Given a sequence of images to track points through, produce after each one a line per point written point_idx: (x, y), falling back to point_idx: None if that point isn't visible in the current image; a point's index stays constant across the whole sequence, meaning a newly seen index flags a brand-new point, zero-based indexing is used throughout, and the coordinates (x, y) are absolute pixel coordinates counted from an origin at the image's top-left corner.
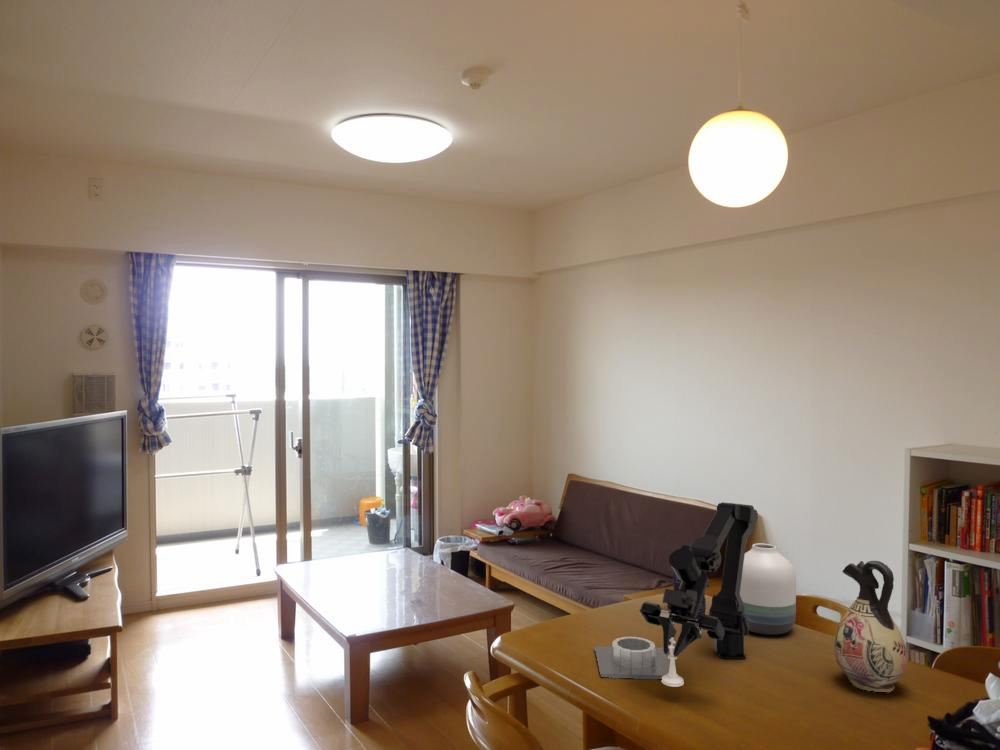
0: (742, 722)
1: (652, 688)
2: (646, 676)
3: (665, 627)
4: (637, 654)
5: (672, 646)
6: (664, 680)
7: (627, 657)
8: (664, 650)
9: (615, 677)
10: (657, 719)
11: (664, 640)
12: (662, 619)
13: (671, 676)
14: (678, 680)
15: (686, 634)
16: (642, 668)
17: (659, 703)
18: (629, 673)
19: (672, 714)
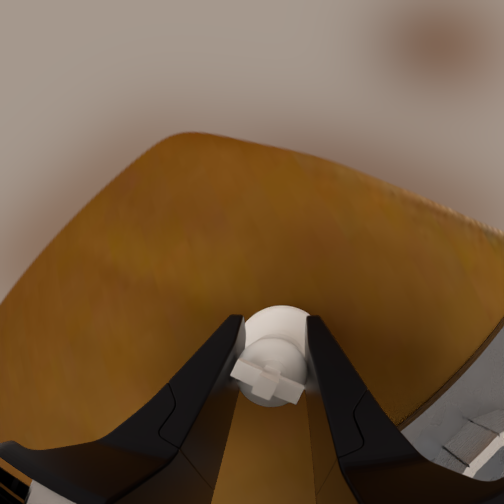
0: (79, 313)
1: (369, 369)
2: (415, 417)
3: (385, 460)
4: (477, 449)
5: (262, 357)
6: (300, 312)
7: (496, 423)
8: (313, 317)
9: (482, 345)
10: (255, 183)
11: (342, 366)
12: (461, 494)
13: (275, 331)
14: (247, 341)
15: (119, 427)
16: (442, 447)
17: (300, 281)
18: (461, 385)
19: (233, 238)
